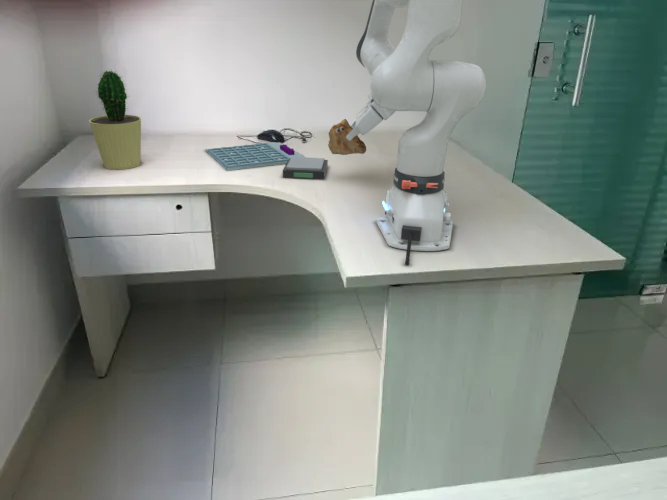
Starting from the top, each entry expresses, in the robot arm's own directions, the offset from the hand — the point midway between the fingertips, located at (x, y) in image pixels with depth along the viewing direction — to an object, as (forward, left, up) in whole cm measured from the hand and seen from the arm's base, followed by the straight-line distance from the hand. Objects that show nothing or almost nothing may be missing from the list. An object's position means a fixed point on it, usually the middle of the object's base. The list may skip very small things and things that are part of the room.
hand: (348, 135), depth 159 cm
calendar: (+21, +33, -14) cm, 42 cm away
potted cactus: (+4, +74, -14) cm, 76 cm away
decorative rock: (-2, 0, -6) cm, 6 cm away
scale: (+4, +13, -13) cm, 19 cm away
